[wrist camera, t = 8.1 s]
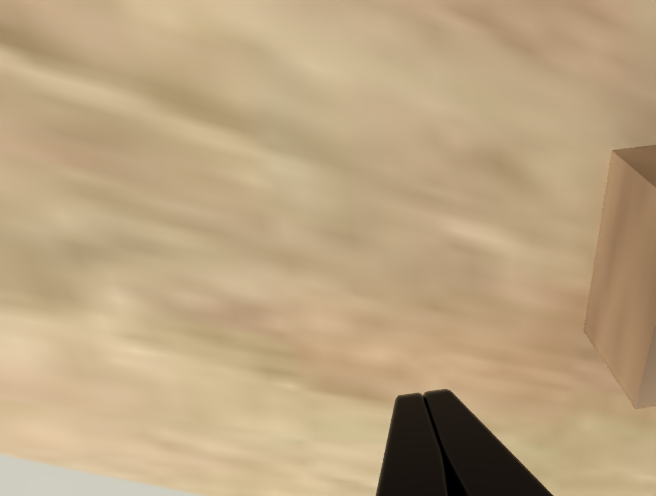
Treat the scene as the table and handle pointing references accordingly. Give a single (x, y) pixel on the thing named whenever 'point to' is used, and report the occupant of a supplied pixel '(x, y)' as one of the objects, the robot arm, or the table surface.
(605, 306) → the walnut block
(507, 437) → the table surface
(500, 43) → the table surface
